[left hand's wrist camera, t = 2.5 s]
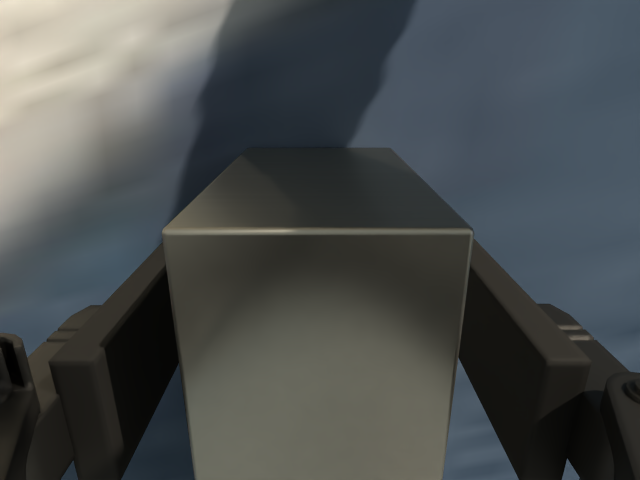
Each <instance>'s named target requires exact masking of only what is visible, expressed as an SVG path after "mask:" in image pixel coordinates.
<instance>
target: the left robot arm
mask: <svg viewBox="0 0 640 480" xmlns="http://www.w3.org/2000/svg"><path fill="white" fill-rule="evenodd" d="M458 357H459V359H460V361H461V363H462V365H463V368H464V370H465V372H466V374H467V376H468V378H469V380H470V382H471V384H472V386H473V388H474V390H475V392H476V394H477V396H478V398H479V400H480V402H481V404H482V406H483V408H484V410H485V412H486V414H487V416H488V418H489V420H490V422H491V424H492V426H493V428H494V430H495V432H496V434H497V436H498V438H499V440H500V442H501V444H502V446H503V448H504V450H505V452H506V454H507V456H508V458H509V460H510V462H511V464H512V466H513V468H514V470H515V472H516V474H517V476H518V478H519V480H562V476H563V472H564V468H565V464H566V460H567V458H568V460H569V462H570V463H571V465H572V466H573V468H574V469H575V471H576V472H577V474H578V475H579V477H580V479H579V480H640V373H635V372H630V371H628V370H627V369H626V368H625V367H624V366H623V365H622V364H621V363H620V362H619V361H618V360H617V359H616V358H615V357H614V356H613V355H612V354H610V353H609V352H608V351H607V350H606V349H605V348H604V347H603V346H602V345H601V344H600V343H599V342H598V341H597V340H594V337H593V336H591V335H590V334H589V333H588V332H587V331H586V330H583V328H582V326H581V325H580V324H579V323H578V322H577V321H576V320H575V319H574V318H572V317H571V316H570V315H569V314H567V313H566V312H564V311H562V310H560V309H558V308H556V307H555V306H553V305H551V304H536V303H535V302H534V301H533V300H532V299H531V298H530V297H529V295H528V294H527V293H526V292H525V291H524V290H523V289H522V288H521V287H520V286H519V285H518V284H517V283H516V282H515V281H514V280H513V279H512V278H511V277H510V276H509V275H508V274H507V273H506V272H505V270H504V269H503V268H502V267H501V266H500V265H499V264H498V263H497V262H496V261H495V260H494V259H493V258H492V257H491V256H490V255H489V254H488V253H487V252H486V251H485V250H484V249H483V248H482V247H481V246H480V244H479V243H478V242H477V241H476V240H475V239H473V247H472V254H471V262H470V270H469V277H468V285H467V293H466V300H465V308H464V316H463V324H462V331H461V339H460V347H459V354H458ZM178 363H179V358H178V351H177V343H176V336H175V328H174V321H173V313H172V306H171V298H170V291H169V283H168V276H167V268H166V261H165V253H164V246H163V242H162V243H161V244H160V246H159V247H158V248H157V249H156V250H155V251H154V252H153V253H152V254H151V255H150V256H149V257H148V258H147V259H146V260H145V261H144V262H143V263H142V264H141V265H140V266H139V267H138V268H137V269H136V271H135V272H134V273H133V274H132V275H131V276H130V277H129V278H128V279H127V280H126V281H125V282H124V283H123V284H122V285H121V286H120V287H119V288H118V289H117V290H116V291H115V292H114V293H113V294H112V295H111V297H110V298H109V299H108V300H107V301H106V302H105V303H104V304H103V305H90V306H89V307H87V308H85V309H83V310H81V311H79V312H78V313H76V314H74V315H72V316H71V317H70V318H68V319H67V320H66V321H65V322H64V323H63V324H62V325H61V326H60V327H59V328H58V331H55V332H54V333H53V334H52V335H51V336H50V337H49V338H48V339H47V342H43V343H42V344H41V345H40V346H39V347H38V348H37V349H36V350H35V351H34V352H33V353H32V354H31V355H30V356H29V357H28V358H27V356H26V352H25V348H24V345H23V341H22V339H21V338H19V337H18V336H16V335H15V334H7V333H0V480H61V478H62V476H63V475H64V473H65V472H66V470H67V469H68V467H69V465H70V464H71V462H72V461H73V460H74V464H75V468H76V472H77V476H78V480H121V478H122V476H123V474H124V472H125V470H126V468H127V466H128V464H129V462H130V460H131V458H132V456H133V454H134V452H135V450H136V448H137V446H138V444H139V442H140V440H141V438H142V436H143V434H144V432H145V430H146V428H147V426H148V424H149V422H150V420H151V418H152V416H153V414H154V412H155V410H156V408H157V406H158V404H159V402H160V400H161V398H162V396H163V394H164V392H165V390H166V388H167V386H168V384H169V382H170V380H171V378H172V376H173V374H174V372H175V370H176V368H177V366H178Z"/></svg>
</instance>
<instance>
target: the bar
mask: <svg viewBox="0 0 640 480" xmlns="http://www.w3.org/2000/svg"><path fill="white" fill-rule="evenodd" d="M162 238H163V246H164V253H165V261H166V268H167V276H168V283H169V291H170V298H171V306H172V313H173V321H174V328H175V336H176V343H177V351H178V358H179V366H180V373H181V381H182V388H183V396H184V403H185V411H186V418H187V426H188V433H189V441H190V448H191V456H192V463H193V471H194V478H195V480H442V477H443V470H444V462H445V454H446V447H447V439H448V431H449V424H450V416H451V408H452V400H453V393H454V385H455V377H456V370H457V362H458V354H459V347H460V339H461V331H462V324H463V316H464V308H465V300H466V293H467V285H468V277H469V270H470V262H471V254H472V247H473V239H474V231H473V229H472V228H471V227H470V226H469V225H468V224H467V223H466V222H465V221H464V220H463V219H462V218H461V217H460V216H459V215H458V214H457V213H456V212H455V211H454V210H453V209H452V208H451V207H450V206H449V205H448V204H447V203H446V202H445V201H444V200H443V199H442V198H441V197H440V196H439V195H438V194H437V193H436V192H435V191H434V190H433V189H432V188H431V187H430V186H429V185H428V184H427V183H426V182H425V181H424V180H423V179H422V178H421V177H420V176H419V175H418V174H417V173H416V172H415V171H414V170H412V169H411V168H410V167H409V166H408V165H407V164H406V163H405V162H404V161H403V160H402V159H401V158H400V157H399V156H398V155H397V154H396V153H395V152H394V151H393V150H392V149H391V148H247V149H246V150H245V151H244V152H243V153H242V154H241V155H240V156H239V157H238V158H237V159H236V160H235V161H234V162H232V163H231V164H230V165H229V166H228V167H227V168H226V169H225V170H224V171H223V172H222V173H221V174H220V175H219V176H218V177H217V178H216V179H215V180H214V181H213V182H212V183H211V184H210V185H208V186H207V187H206V188H205V189H204V190H203V191H202V192H201V193H200V194H199V195H198V196H197V197H196V198H195V199H194V200H193V201H192V202H191V203H190V204H189V205H188V206H187V207H186V208H184V209H183V210H182V211H181V212H180V213H179V214H178V215H177V216H176V217H175V218H174V219H173V220H172V221H171V222H170V223H169V224H168V225H167V226H166V227H165V228H164V229H163V231H162Z"/></svg>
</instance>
